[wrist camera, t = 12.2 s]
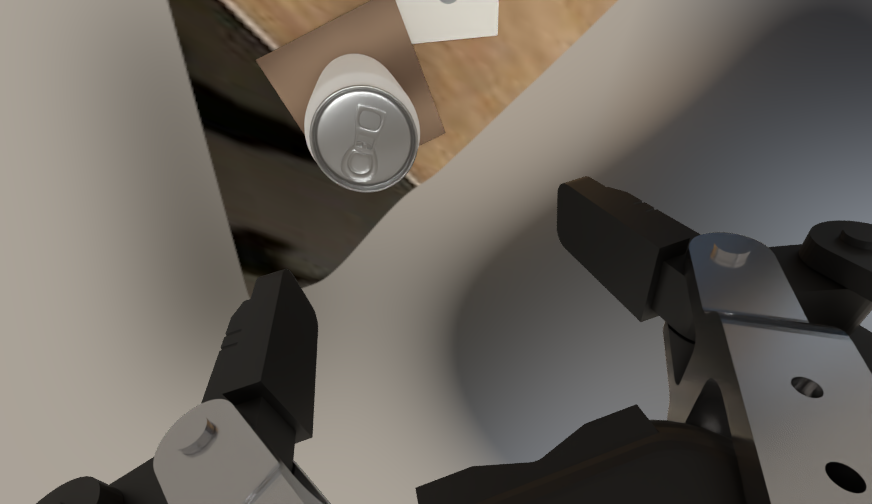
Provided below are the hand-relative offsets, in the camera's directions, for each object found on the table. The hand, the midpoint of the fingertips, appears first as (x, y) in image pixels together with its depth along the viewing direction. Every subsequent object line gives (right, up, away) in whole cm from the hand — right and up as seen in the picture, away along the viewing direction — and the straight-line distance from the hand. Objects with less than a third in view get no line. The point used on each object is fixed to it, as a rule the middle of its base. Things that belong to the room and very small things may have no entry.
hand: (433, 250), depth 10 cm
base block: (-7, +15, +21) cm, 26 cm away
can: (-6, +13, +18) cm, 22 cm away
